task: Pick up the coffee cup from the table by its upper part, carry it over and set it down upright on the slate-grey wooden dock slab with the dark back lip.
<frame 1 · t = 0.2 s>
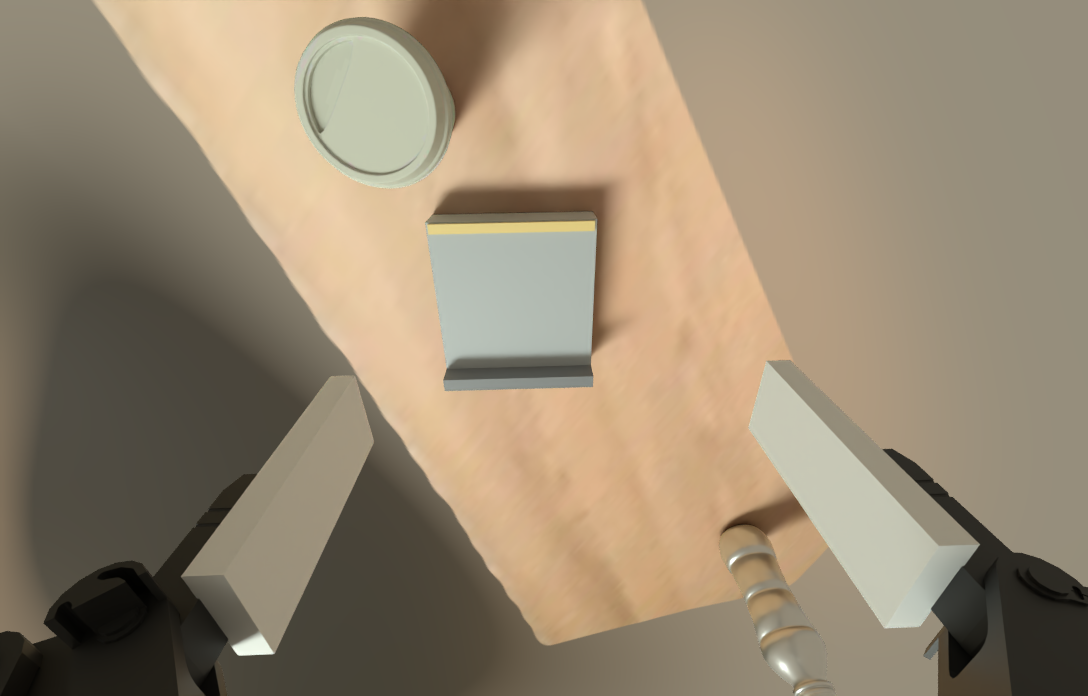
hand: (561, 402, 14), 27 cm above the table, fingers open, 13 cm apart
coffee cup: (418, 109, 34), on the table
dock: (516, 288, 41), on the table
plastic bottle: (737, 532, 60), on the table
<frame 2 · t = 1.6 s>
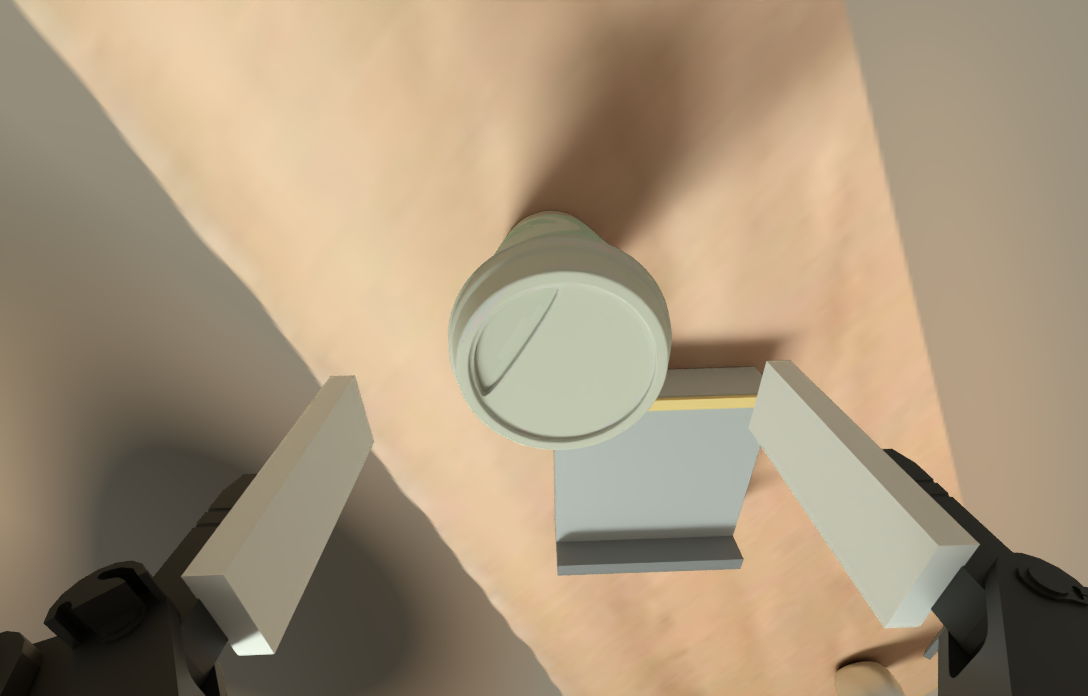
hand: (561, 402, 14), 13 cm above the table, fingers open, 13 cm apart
coffee cup: (550, 259, 25), on the table
dock: (644, 446, 33), on the table
plastic bottle: (853, 664, 52), on the table
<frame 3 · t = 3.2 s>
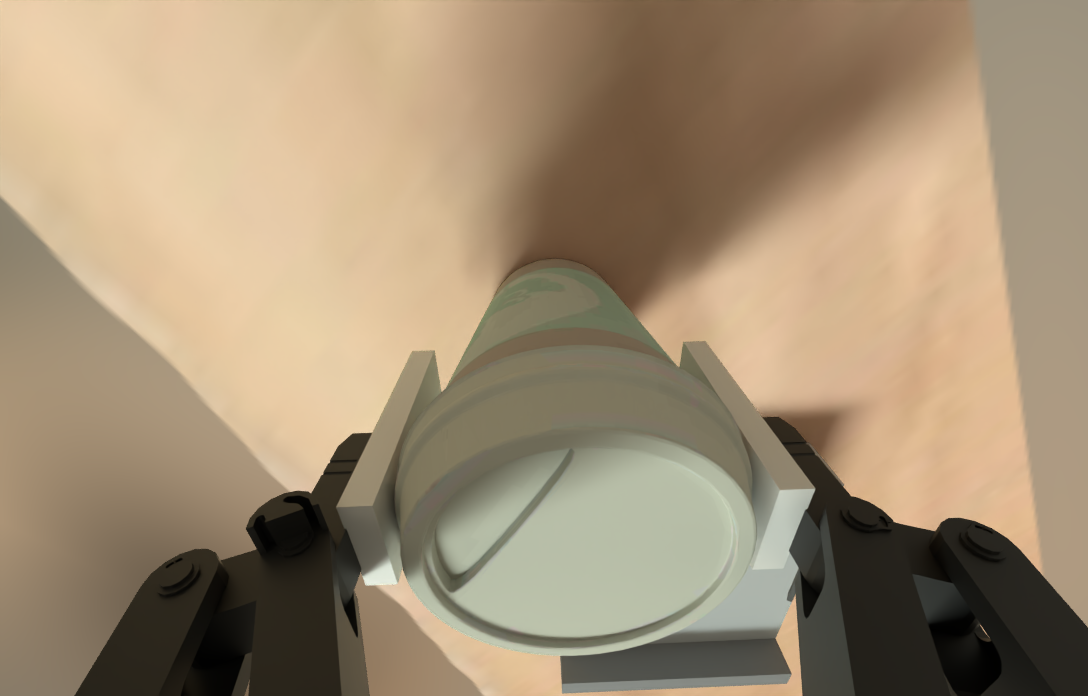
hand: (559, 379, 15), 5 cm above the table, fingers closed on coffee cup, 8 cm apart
coffee cup: (553, 318, 20), on the table, touching gripper
dock: (667, 531, 27), on the table
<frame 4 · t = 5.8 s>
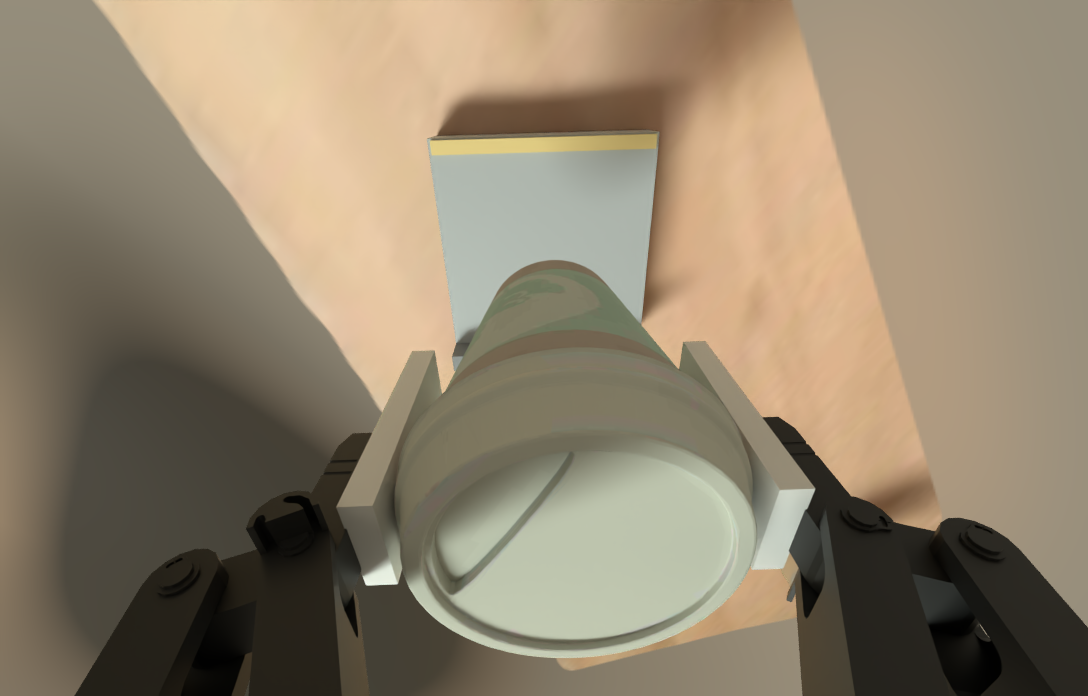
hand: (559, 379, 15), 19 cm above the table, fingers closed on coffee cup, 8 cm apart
coffee cup: (553, 319, 20), point 14 cm above the table, touching gripper
dock: (545, 238, 32), on the table
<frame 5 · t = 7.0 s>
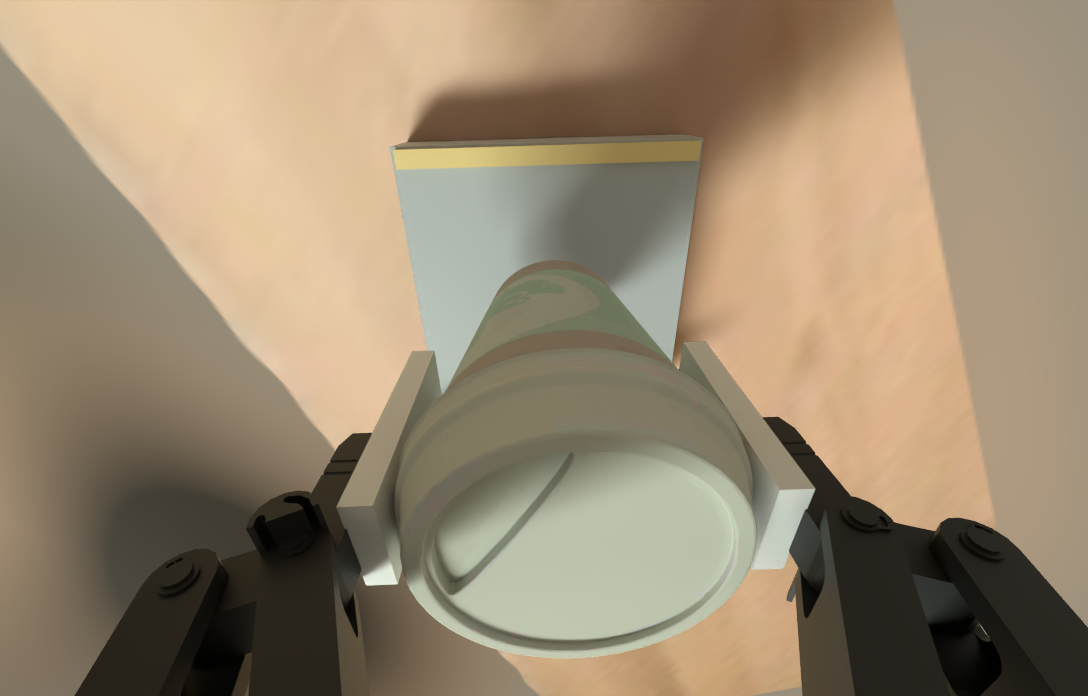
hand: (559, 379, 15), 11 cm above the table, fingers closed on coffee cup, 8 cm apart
coffee cup: (553, 319, 20), point 6 cm above the table, touching gripper
dock: (548, 270, 25), on the table
when the fingers open (9 cm above the table, at t = 8.3 s): coffee cup drops 1 cm, resting on dock.
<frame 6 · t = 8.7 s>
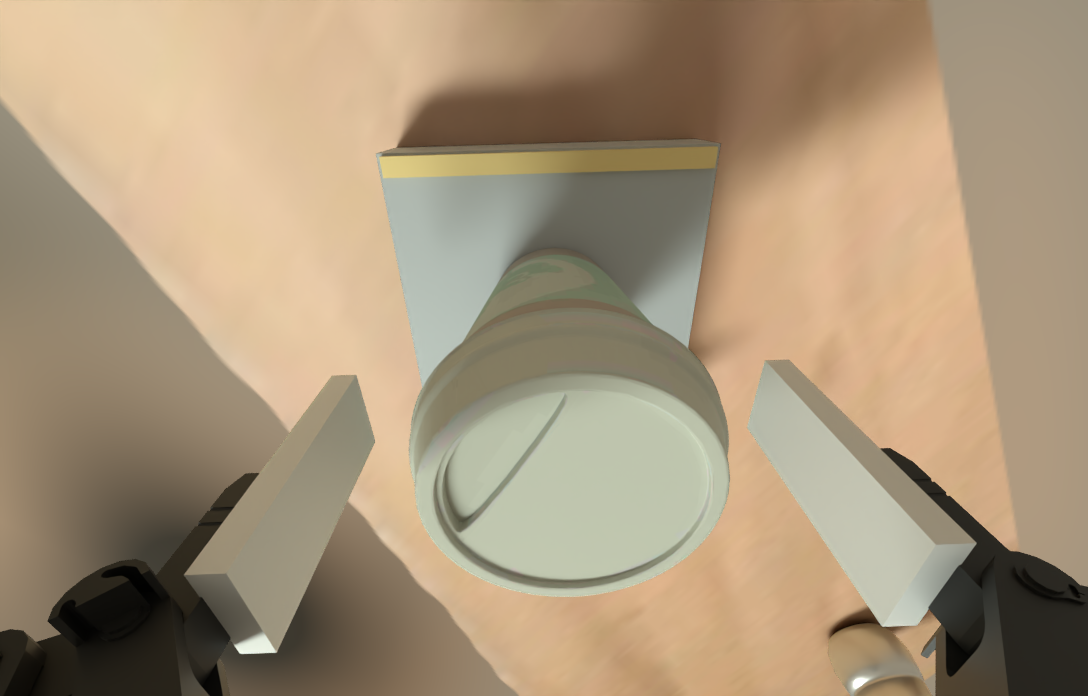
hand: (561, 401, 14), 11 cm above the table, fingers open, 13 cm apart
coffee cup: (553, 305, 21), point 3 cm above the table, touching dock
dock: (549, 284, 23), on the table
plastic bottle: (851, 629, 42), on the table
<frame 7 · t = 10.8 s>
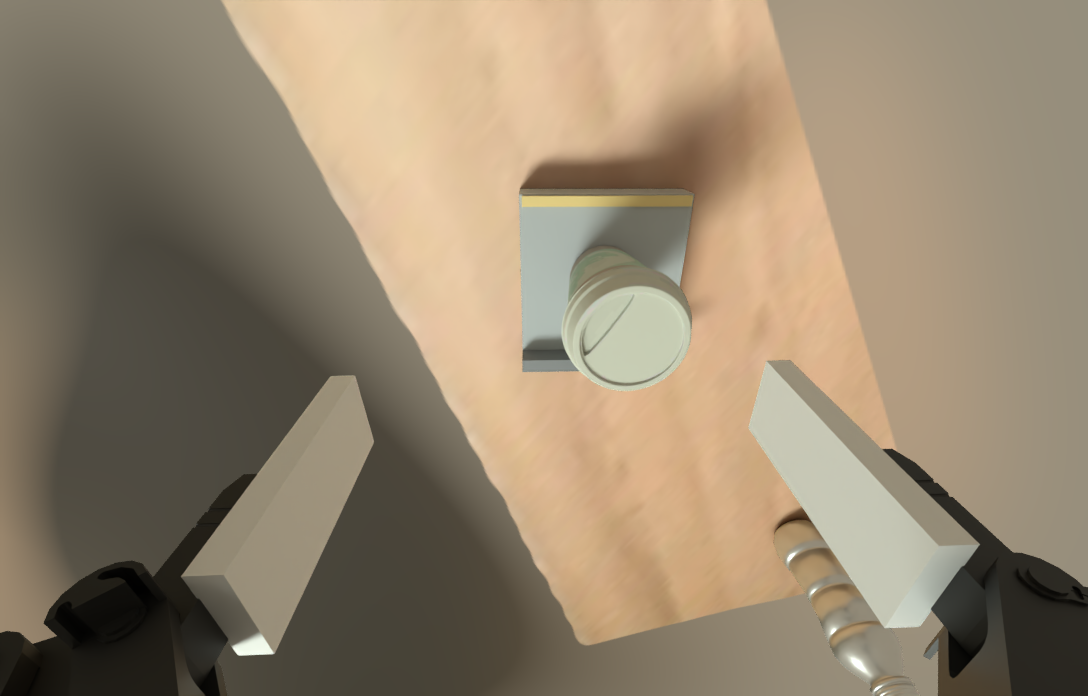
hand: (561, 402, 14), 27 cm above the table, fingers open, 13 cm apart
coffee cup: (602, 277, 37), point 3 cm above the table, touching dock
dock: (596, 267, 40), on the table
plastic bottle: (791, 528, 58), on the table
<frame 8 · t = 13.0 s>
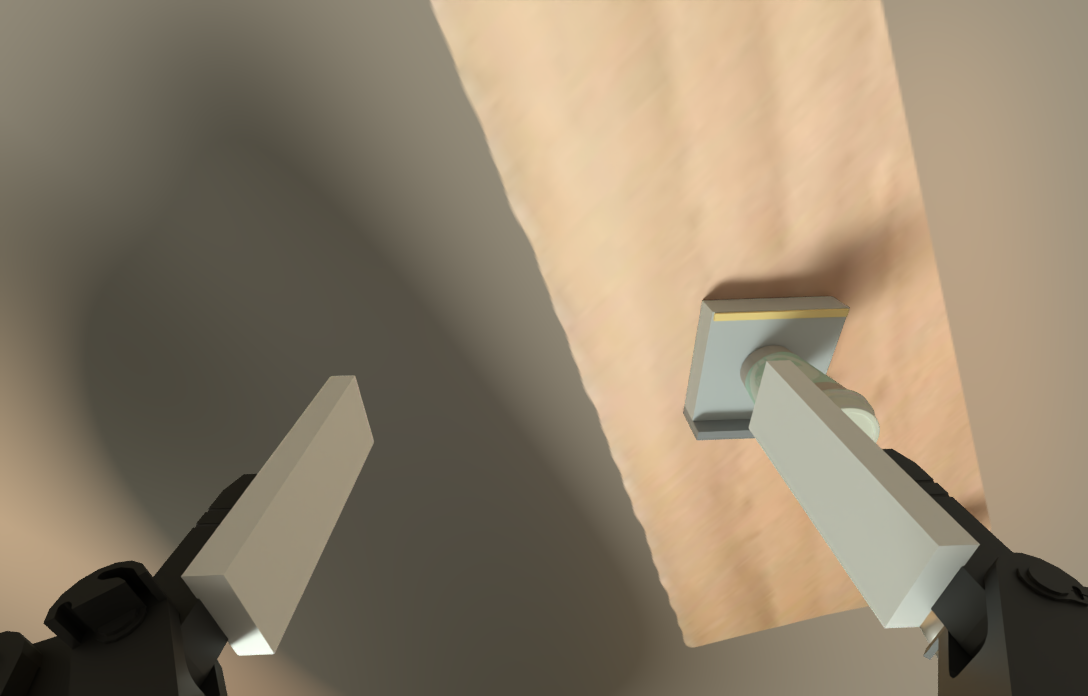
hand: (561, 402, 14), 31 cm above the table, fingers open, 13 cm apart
coffee cup: (765, 366, 47), point 3 cm above the table, touching dock
dock: (753, 354, 49), on the table
plastic bottle: (883, 548, 68), on the table
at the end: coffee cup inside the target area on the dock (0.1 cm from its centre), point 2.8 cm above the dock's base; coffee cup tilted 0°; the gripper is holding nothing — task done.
